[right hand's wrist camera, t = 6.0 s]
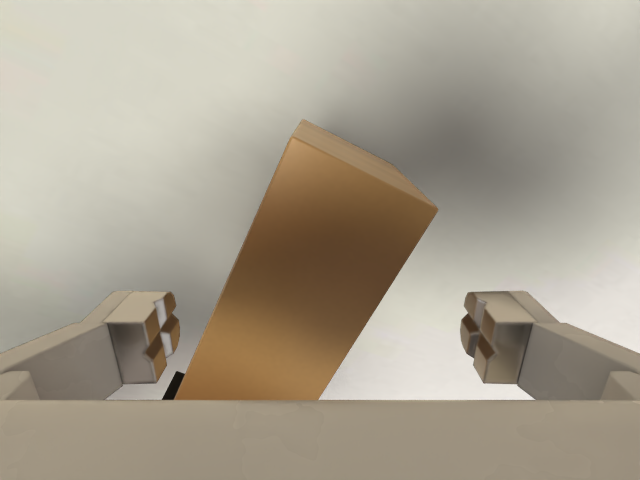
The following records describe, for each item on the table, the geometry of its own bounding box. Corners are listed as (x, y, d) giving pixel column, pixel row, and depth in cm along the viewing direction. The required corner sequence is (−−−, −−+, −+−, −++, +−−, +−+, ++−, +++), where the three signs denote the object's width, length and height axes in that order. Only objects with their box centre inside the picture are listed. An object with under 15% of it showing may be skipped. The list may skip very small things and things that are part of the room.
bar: (302, 118, 18) (291, 135, 11) (393, 164, 19) (440, 209, 12) (167, 421, 26) (106, 551, 19) (237, 444, 27) (205, 578, 19)
